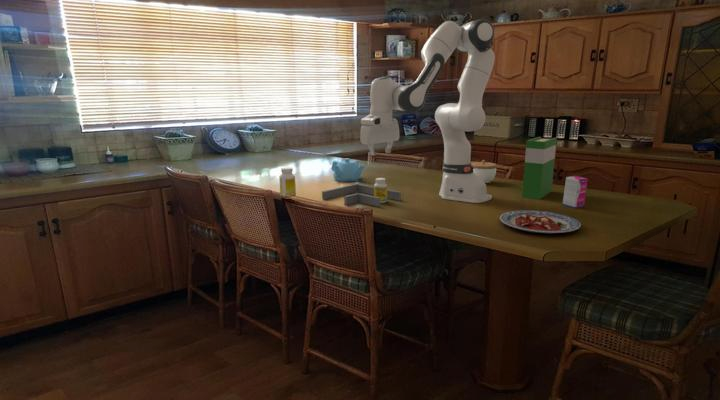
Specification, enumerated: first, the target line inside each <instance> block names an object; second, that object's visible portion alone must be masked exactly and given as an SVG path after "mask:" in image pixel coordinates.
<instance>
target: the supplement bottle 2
mask: <svg viewBox="0 0 720 400" xmlns="http://www.w3.org/2000/svg"><path fill="white" fill-rule="evenodd" d="M373 187H374V195H373V196H375V197H379V198H380V204H383V203H387V202H388V198H387V189H388V185H387V183H386V178H385V177H377V178H375V183H374V185H373Z"/></svg>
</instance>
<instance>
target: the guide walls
mask: <svg viewBox="0 0 720 400" xmlns="http://www.w3.org/2000/svg"><path fill="white" fill-rule="evenodd" d="M343 196H344V197H343ZM321 197H322V199H323V201H326V200H330V199H333V198H334V199H335V198H338V197H343V199H344V206H350V205H353V203H354V204H358V203H360V204H364V205H370V206H372V205H373V206H372V207H377V208H379V207H381V203H380V198H379V197H375V196H374V186H371V185H366V184H361V183H354V184H349V185H345V186H340V187H336V188H332V189H326V190H323V191H321ZM387 200H393V201H398V202H399V201H401V200H402V191H398V190H392V189H388V188H387Z"/></svg>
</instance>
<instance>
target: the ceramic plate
mask: <svg viewBox="0 0 720 400" xmlns="http://www.w3.org/2000/svg"><path fill="white" fill-rule="evenodd" d="M499 220H500V221H501V222H502V224H505V225H507V226H508V227H512V228H514V229H518V230H521V231H525V232H529V233H534V234H559V233H560V234H561V233H563V234H564V233H570V232H574V231H576V230H579V229H580V228H581V226H582V224H581V222H580V221H578V219H575V218H574V217H571V216H568V215H565V214H562V213H561V214H560V213H556V212H553V211H551V212H550V211H545V210H544V211H542V210H529V209H528V210H523V209H522V210H513V211H507V212H504V213H502V214H501V215H500V216H499Z"/></svg>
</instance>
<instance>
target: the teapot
mask: <svg viewBox="0 0 720 400" xmlns="http://www.w3.org/2000/svg"><path fill="white" fill-rule="evenodd" d="M365 166H366V165H364V164H360V160H359V159H358V160H355V161H354V160H351V159H350V158H348V157H347V158H344V160H341V161H338V160H332V165H331V168H330V169H331V170H332V172H333V175H332V176H333V178H334V179H335V180H336V181H337V182H341V183H342V182H343V183H350V182H356V181H359V180H360V178H362V173H363V172H364V168H365Z"/></svg>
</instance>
